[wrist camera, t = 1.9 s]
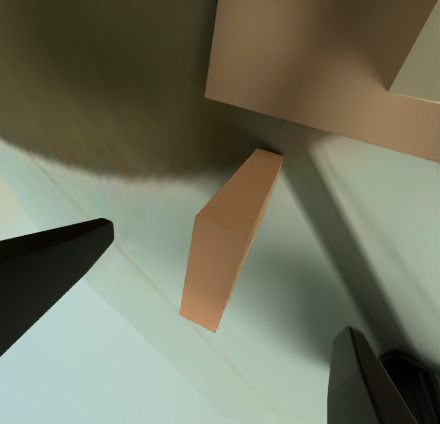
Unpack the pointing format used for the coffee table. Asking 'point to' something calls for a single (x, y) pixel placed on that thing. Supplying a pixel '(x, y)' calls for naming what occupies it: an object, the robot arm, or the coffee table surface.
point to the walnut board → (325, 67)
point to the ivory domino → (422, 64)
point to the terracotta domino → (226, 238)
